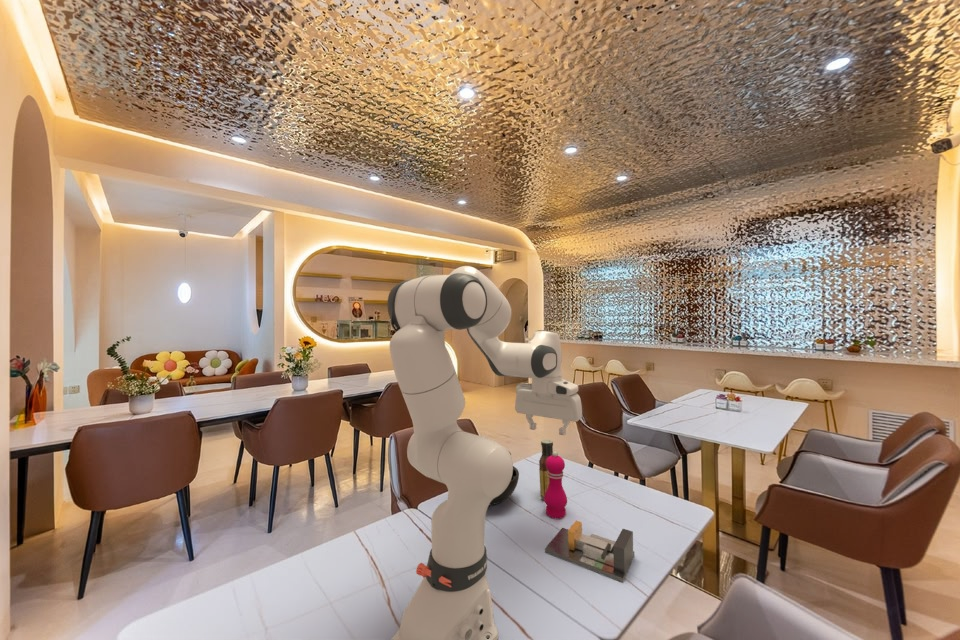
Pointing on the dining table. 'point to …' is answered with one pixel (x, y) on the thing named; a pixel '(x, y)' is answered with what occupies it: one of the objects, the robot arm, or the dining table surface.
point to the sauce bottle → (544, 466)
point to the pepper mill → (555, 487)
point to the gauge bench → (596, 554)
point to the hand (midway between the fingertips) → (547, 431)
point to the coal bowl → (510, 487)
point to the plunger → (586, 540)
